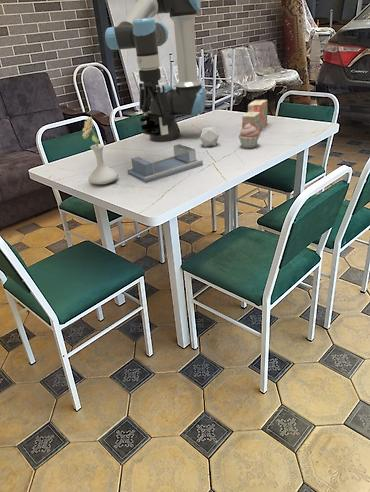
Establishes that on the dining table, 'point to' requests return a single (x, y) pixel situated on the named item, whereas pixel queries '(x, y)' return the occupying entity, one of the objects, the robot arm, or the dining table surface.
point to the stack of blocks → (256, 115)
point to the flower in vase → (98, 159)
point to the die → (209, 136)
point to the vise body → (159, 168)
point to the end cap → (153, 124)
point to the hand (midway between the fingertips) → (156, 131)
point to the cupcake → (249, 136)
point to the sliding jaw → (184, 153)
